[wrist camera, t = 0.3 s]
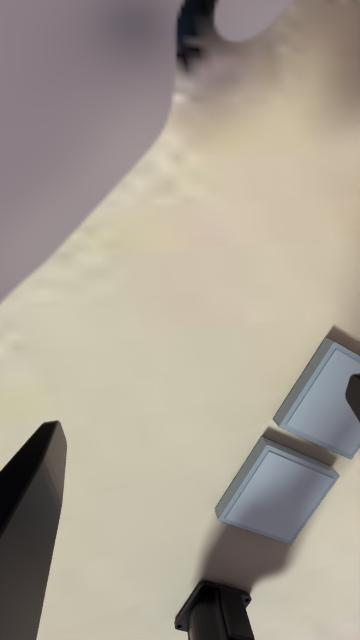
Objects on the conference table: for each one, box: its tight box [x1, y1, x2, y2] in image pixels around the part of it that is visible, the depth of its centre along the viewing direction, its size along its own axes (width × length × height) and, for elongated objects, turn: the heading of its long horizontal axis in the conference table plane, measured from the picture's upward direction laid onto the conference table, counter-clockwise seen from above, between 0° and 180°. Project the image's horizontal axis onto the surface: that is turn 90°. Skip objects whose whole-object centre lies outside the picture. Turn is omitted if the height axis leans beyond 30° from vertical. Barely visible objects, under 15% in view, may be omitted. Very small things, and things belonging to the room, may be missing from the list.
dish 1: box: [273, 337, 360, 459], centre depth 27 cm, size 9×9×1 cm
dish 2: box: [215, 437, 340, 545], centre depth 29 cm, size 9×9×1 cm
